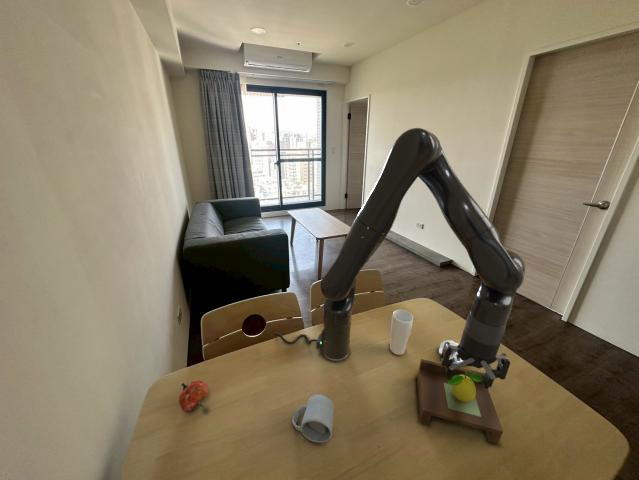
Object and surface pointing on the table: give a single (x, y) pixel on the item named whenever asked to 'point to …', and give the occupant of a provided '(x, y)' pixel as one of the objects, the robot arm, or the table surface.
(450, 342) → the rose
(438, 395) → the wooden serving tray
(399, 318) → the drinking glass
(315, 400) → the ceramic mug
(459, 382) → the lemon
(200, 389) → the red rounded piece
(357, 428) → the table surface
